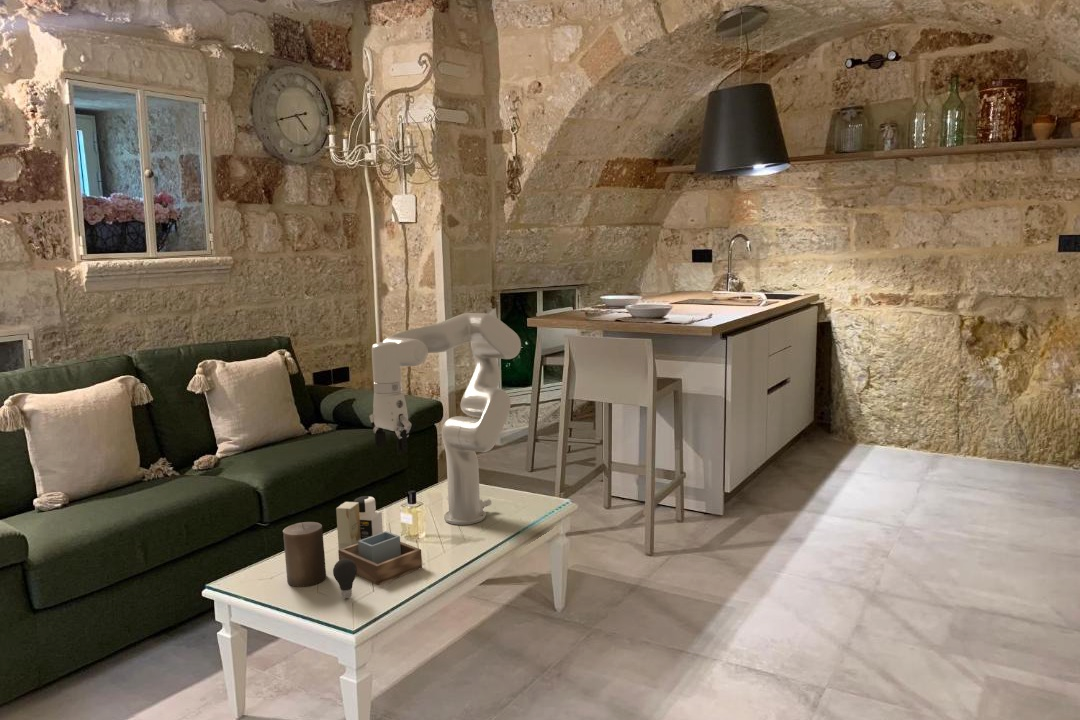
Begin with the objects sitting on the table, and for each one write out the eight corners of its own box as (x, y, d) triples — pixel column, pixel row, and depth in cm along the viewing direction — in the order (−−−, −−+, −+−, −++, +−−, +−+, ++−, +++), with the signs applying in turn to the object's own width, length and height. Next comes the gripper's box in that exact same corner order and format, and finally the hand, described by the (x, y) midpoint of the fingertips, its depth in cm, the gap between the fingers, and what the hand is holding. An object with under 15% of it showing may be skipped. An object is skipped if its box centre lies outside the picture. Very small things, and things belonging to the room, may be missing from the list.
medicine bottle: (349, 541, 237) (347, 501, 235) (360, 532, 244) (358, 493, 242) (372, 543, 236) (370, 502, 234) (383, 534, 242) (380, 494, 241)
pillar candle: (330, 581, 210) (326, 524, 208) (291, 590, 206) (287, 532, 204) (320, 569, 219) (316, 514, 217) (282, 577, 214) (278, 521, 212)
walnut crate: (382, 552, 229) (381, 534, 228) (422, 567, 217) (421, 549, 217) (339, 567, 219) (338, 549, 218) (378, 585, 207) (376, 566, 207)
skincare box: (352, 551, 230) (349, 509, 228) (338, 550, 231) (335, 508, 229) (362, 542, 236) (359, 501, 234) (347, 542, 237) (345, 500, 235)
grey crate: (387, 556, 223) (385, 531, 222) (401, 561, 219) (399, 536, 218) (359, 566, 217) (357, 540, 216) (373, 572, 213) (371, 546, 212)
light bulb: (335, 605, 197) (332, 565, 195) (334, 595, 202) (331, 556, 200) (359, 601, 198) (357, 562, 197) (357, 592, 204) (355, 553, 202)
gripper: (419, 389, 222) (422, 451, 224) (380, 382, 233) (383, 441, 236) (396, 393, 216) (400, 457, 219) (357, 386, 228) (361, 447, 231)
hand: (391, 449), depth 227 cm, fingers open, 9 cm apart
